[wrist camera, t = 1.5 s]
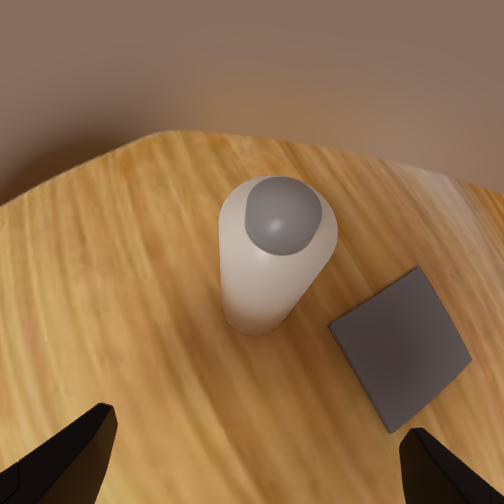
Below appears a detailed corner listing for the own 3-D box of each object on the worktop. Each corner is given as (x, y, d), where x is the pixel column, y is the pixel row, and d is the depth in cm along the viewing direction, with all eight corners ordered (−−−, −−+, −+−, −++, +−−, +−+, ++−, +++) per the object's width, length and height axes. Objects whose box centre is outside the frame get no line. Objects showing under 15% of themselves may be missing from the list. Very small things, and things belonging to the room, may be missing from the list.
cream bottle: (299, 317, 23) (371, 235, 11) (240, 347, 22) (258, 292, 10) (267, 263, 25) (303, 144, 13) (210, 289, 24) (197, 181, 12)
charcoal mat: (468, 361, 22) (472, 359, 22) (388, 432, 20) (392, 433, 19) (416, 268, 26) (419, 266, 25) (327, 325, 23) (329, 323, 23)
